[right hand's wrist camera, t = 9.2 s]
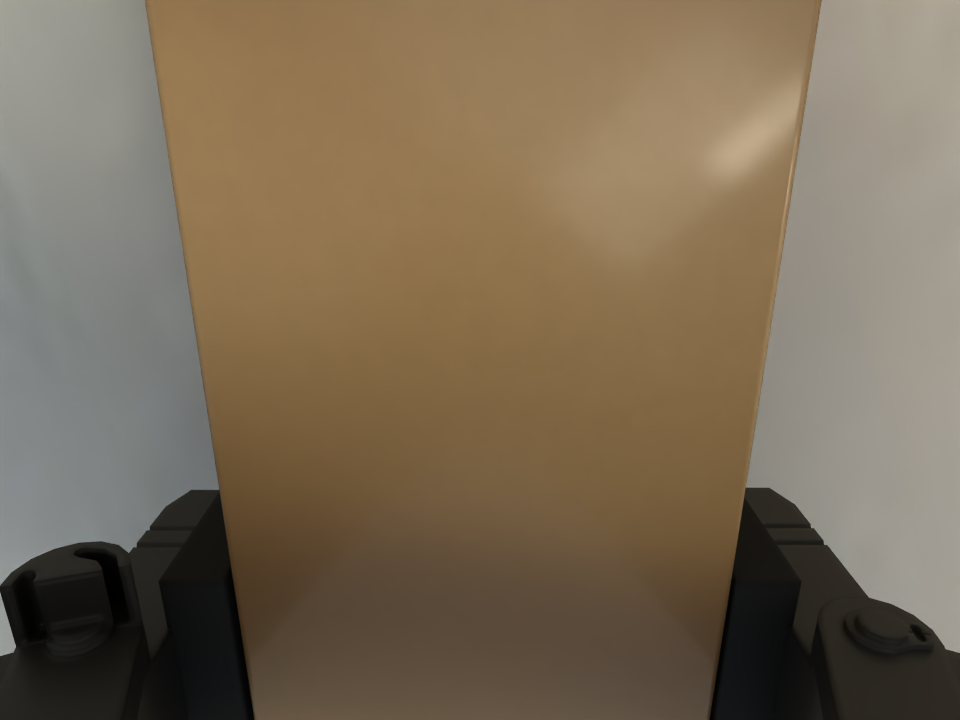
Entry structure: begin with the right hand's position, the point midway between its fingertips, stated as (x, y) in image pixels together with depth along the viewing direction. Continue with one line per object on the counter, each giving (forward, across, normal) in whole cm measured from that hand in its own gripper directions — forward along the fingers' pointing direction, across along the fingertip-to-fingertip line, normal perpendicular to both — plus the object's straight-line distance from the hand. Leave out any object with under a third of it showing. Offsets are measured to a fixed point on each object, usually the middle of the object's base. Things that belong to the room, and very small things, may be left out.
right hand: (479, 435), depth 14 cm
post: (+1, 0, -26) cm, 26 cm away
